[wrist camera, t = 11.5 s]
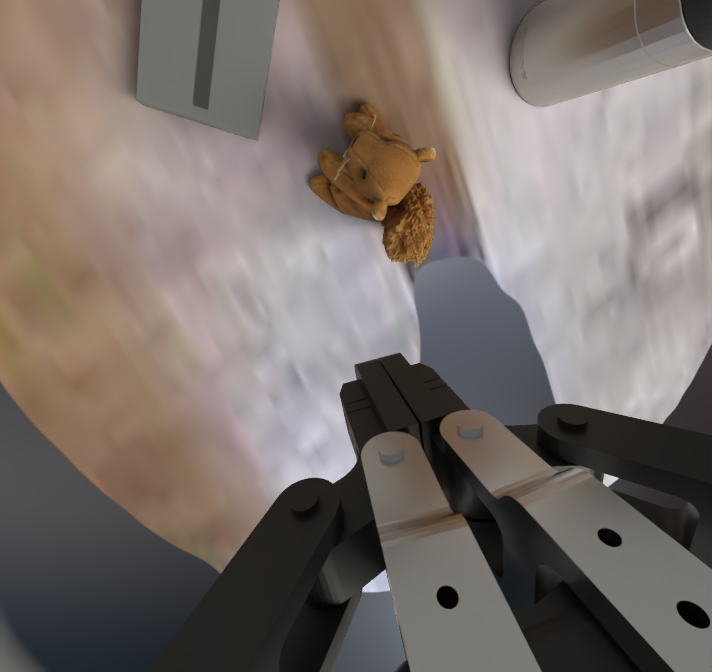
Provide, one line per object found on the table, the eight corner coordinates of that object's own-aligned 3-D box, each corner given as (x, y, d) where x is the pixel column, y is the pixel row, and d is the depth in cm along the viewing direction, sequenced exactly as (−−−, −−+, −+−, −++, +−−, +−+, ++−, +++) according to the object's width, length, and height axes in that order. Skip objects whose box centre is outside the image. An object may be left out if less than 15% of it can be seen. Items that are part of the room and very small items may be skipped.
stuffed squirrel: (362, 95, 36) (409, 47, 24) (444, 203, 41) (515, 208, 29) (294, 171, 37) (306, 162, 25) (383, 266, 43) (427, 295, 31)
